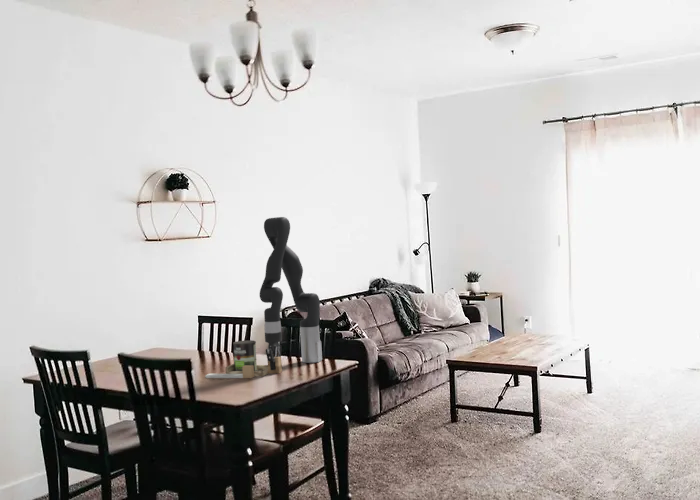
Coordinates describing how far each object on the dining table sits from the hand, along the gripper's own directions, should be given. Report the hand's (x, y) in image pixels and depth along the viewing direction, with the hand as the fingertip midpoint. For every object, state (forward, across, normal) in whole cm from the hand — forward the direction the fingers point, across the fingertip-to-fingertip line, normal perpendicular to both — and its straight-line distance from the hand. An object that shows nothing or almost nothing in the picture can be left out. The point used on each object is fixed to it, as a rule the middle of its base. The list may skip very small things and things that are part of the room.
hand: (274, 369), depth 301 cm
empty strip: (+2, -10, +18) cm, 20 cm away
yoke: (+2, 0, +9) cm, 9 cm away
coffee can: (+2, 0, +14) cm, 14 cm away
